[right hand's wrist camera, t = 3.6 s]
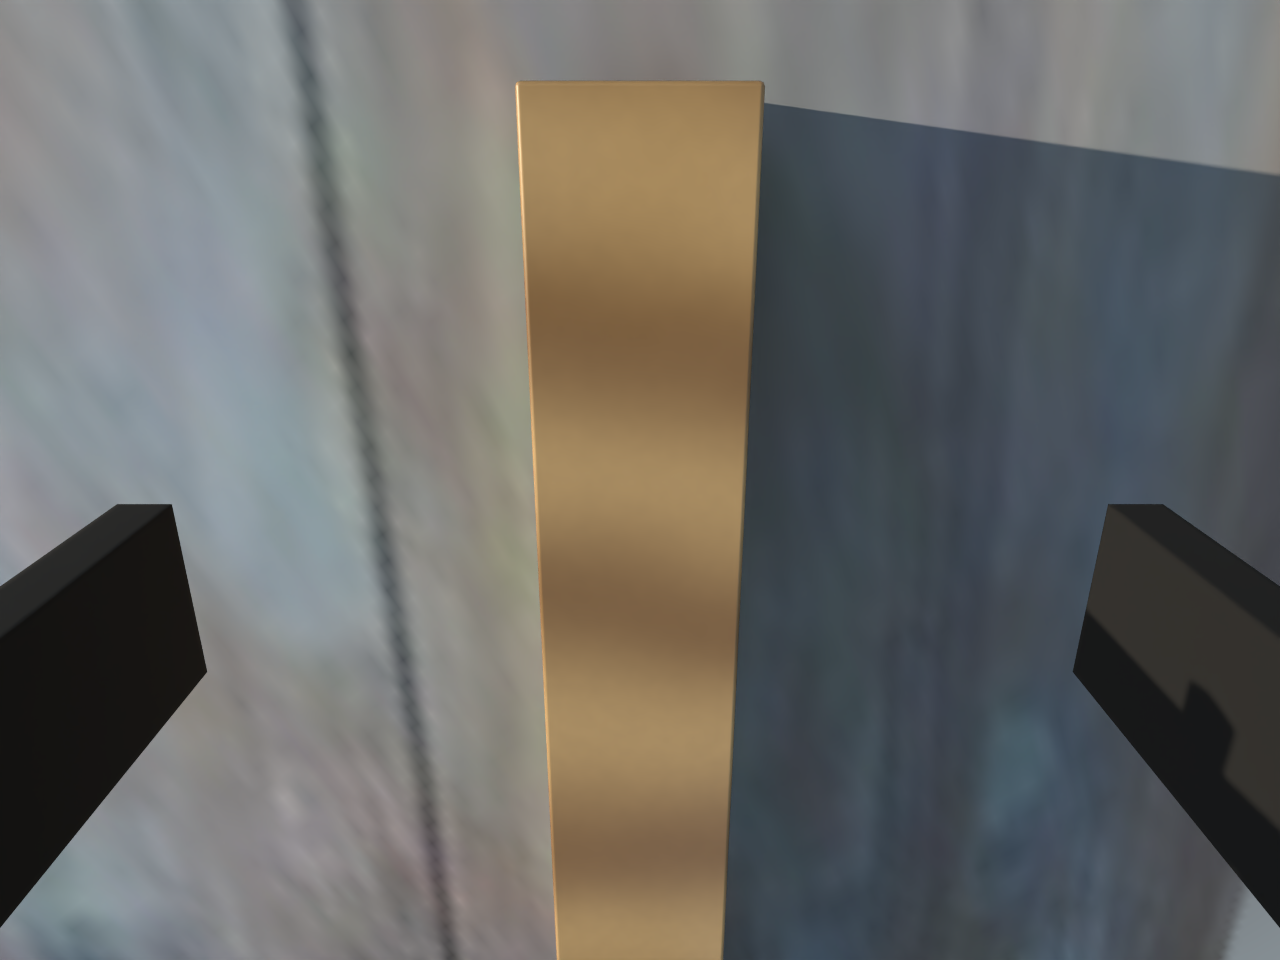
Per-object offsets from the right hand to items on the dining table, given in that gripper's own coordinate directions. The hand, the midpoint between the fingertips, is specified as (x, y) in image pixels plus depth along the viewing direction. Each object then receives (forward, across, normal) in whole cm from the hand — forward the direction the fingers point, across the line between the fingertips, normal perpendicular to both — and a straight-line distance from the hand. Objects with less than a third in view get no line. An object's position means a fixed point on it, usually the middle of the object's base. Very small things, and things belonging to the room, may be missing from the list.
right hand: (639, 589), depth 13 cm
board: (+15, 0, -25) cm, 30 cm away
